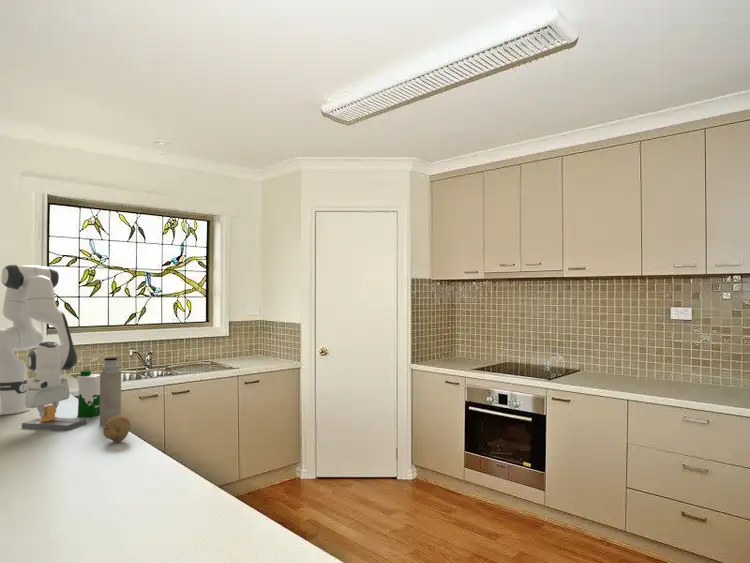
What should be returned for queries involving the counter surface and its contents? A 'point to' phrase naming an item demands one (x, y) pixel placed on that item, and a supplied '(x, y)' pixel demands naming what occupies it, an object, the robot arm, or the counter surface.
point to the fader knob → (49, 413)
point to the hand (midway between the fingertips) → (48, 414)
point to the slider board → (55, 424)
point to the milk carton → (88, 394)
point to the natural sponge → (117, 428)
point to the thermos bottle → (110, 390)
